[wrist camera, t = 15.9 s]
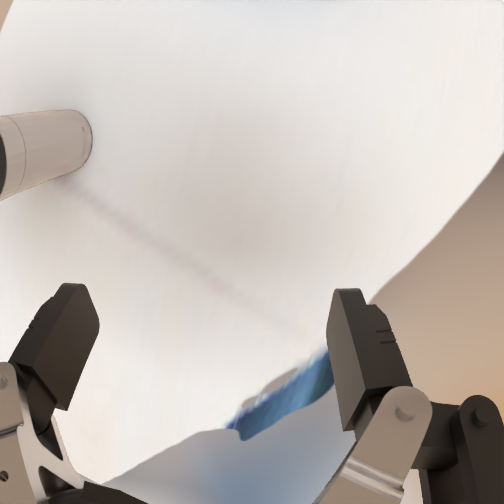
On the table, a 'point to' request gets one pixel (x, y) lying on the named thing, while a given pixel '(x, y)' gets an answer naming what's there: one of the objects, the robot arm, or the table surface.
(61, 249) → the table surface
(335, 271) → the table surface
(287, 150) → the table surface
